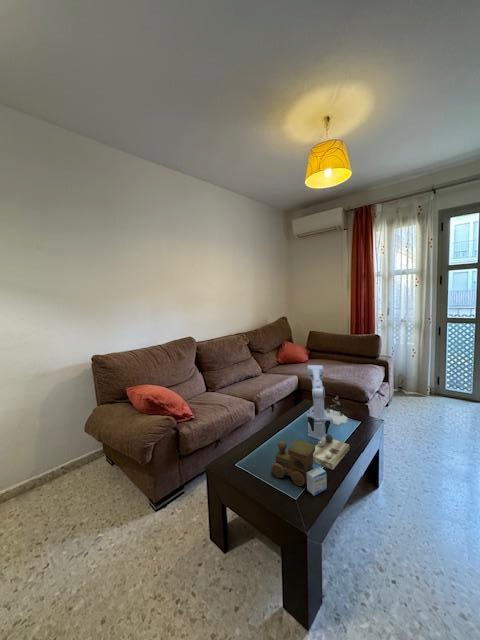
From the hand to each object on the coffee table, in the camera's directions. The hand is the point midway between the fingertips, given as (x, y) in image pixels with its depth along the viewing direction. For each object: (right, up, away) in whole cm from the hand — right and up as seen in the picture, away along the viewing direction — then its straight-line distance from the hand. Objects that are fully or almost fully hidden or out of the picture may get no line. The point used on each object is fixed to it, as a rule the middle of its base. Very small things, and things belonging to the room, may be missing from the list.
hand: (319, 432), depth 145 cm
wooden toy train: (-19, -13, -20) cm, 31 cm away
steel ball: (0, -6, -2) cm, 6 cm away
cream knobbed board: (+4, -10, -5) cm, 12 cm away
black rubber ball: (+6, -5, +2) cm, 8 cm away
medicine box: (-11, -13, -30) cm, 34 cm away
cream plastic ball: (+1, -6, -12) cm, 14 cm away
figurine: (+21, -7, +37) cm, 43 cm away
